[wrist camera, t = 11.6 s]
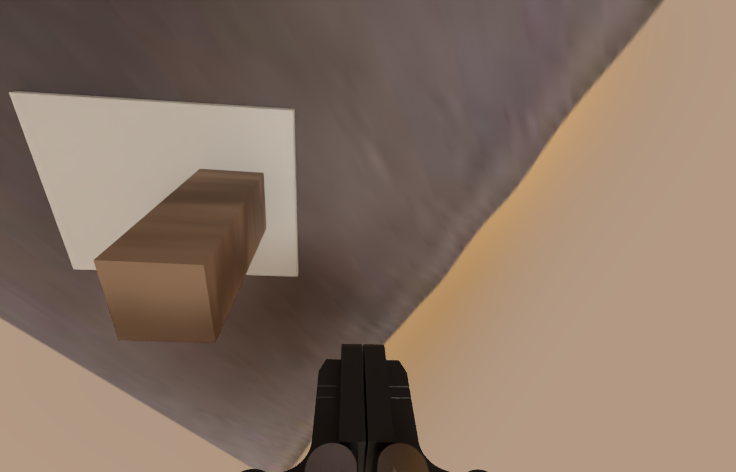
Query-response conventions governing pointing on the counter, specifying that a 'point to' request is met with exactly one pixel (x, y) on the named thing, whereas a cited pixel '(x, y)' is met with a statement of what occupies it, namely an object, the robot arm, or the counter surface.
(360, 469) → the robot arm
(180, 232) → the block
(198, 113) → the mat
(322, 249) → the counter surface
